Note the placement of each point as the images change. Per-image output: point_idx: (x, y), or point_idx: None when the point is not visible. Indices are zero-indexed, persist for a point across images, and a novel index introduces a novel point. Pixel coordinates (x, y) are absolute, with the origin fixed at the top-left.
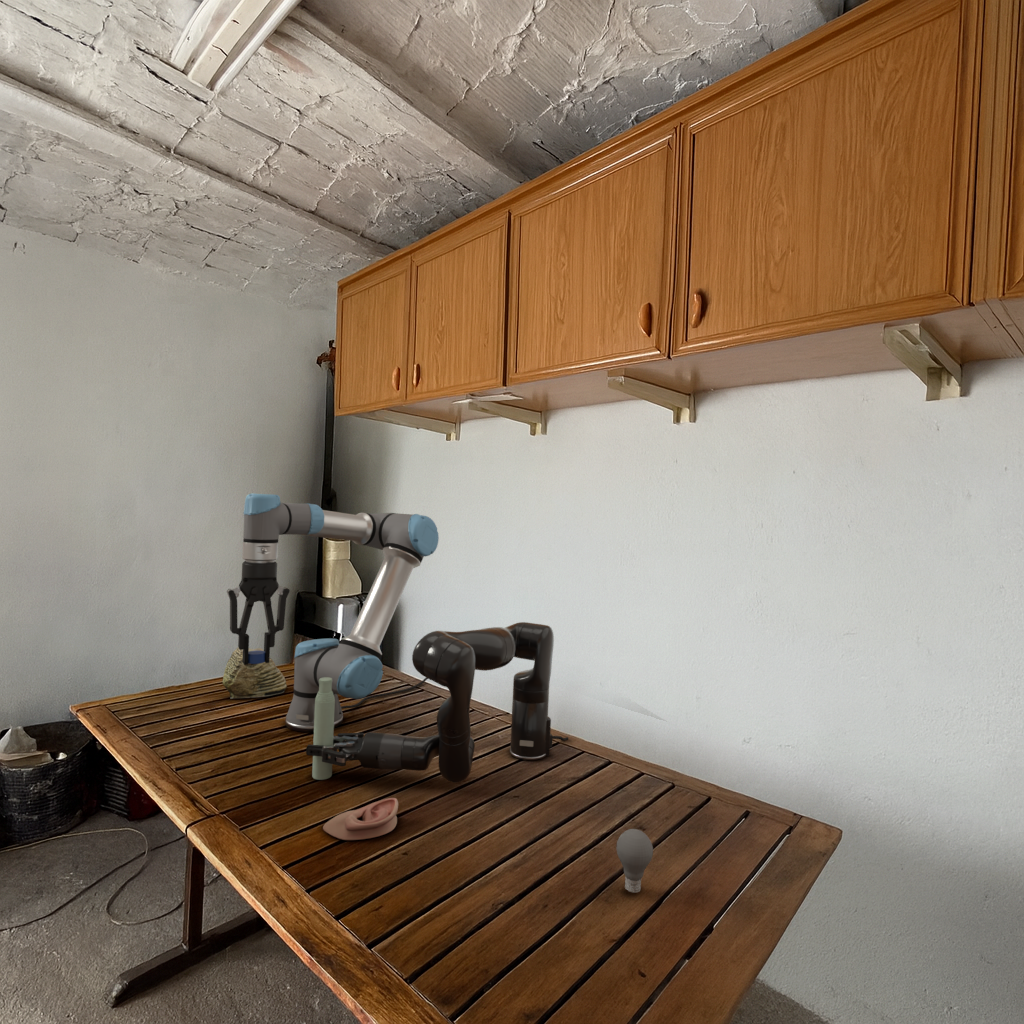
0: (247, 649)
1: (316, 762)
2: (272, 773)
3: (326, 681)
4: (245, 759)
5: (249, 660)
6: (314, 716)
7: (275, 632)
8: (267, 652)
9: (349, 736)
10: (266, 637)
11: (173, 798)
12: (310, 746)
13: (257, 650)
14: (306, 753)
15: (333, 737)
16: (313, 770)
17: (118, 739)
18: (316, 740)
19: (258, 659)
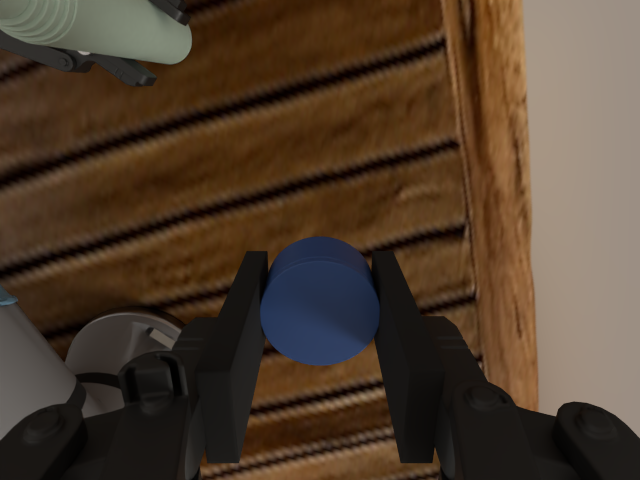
0: (396, 298)
1: None
2: (279, 112)
3: None
4: (322, 221)
5: (366, 265)
6: (115, 12)
7: (132, 365)
8: (249, 282)
9: None
10: (237, 367)
11: (504, 74)
12: (170, 3)
13: (302, 361)
14: (189, 16)
15: None
16: (184, 27)
17: None
18: (144, 2)
19: (315, 245)
